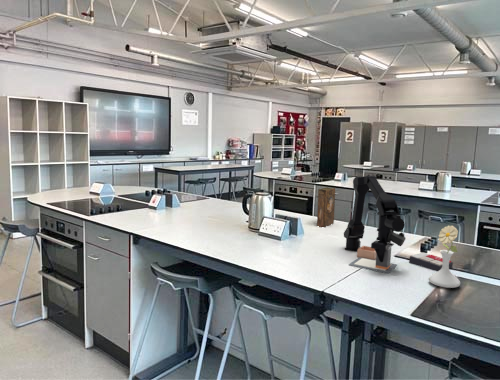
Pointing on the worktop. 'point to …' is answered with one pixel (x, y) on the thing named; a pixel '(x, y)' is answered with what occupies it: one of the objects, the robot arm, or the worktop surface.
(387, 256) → the grey square block
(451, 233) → the flower in vase
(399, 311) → the worktop surface
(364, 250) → the copper square tube
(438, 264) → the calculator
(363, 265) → the writing mat
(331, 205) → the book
